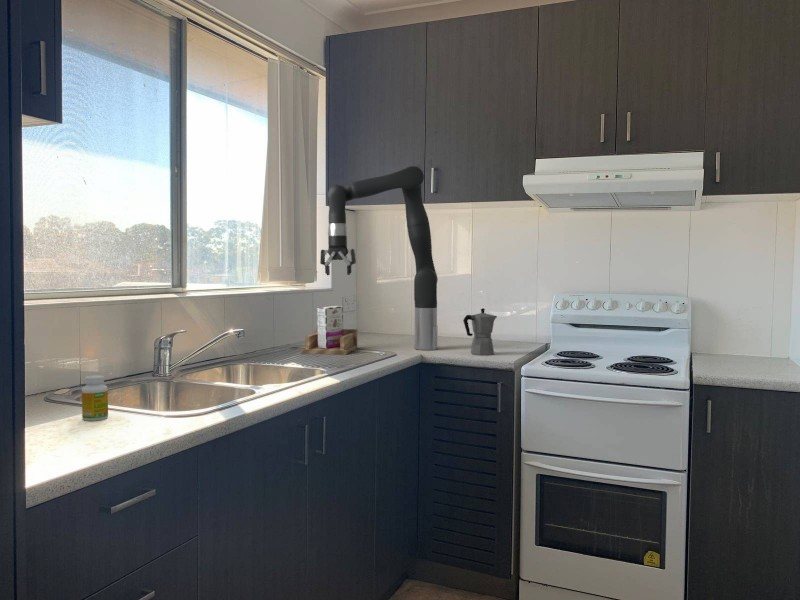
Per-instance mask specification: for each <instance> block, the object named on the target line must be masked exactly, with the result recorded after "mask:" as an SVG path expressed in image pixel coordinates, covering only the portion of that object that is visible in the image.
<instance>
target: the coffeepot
mask: <svg viewBox="0 0 800 600" xmlns="http://www.w3.org/2000/svg"><path fill="white" fill-rule="evenodd" d="M485 310H486V308H483V307H482V308H480V313H475V314H467V315H465V317H464V318H463V320H462V321H463V325H464V328H465V331H466V335H467V336H469V337H472V336H473V338H472V342H471V347H470V348H471V349H470V354H471V355H473V356H492V355H494V354H495V352H494V345H493V338H492V333H493V328H494V324H495V323H494V322H495V320H496V319H497V317H498V316H497V315H494V314H489V313H486V312H485ZM468 321H471V326H472V332H473V333H472V332H470V331H471V330H470V329H471V328H470V327H469V322H468Z"/></svg>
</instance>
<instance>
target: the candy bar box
mask: <svg viewBox="0 0 800 600" xmlns="http://www.w3.org/2000/svg"><path fill="white" fill-rule="evenodd" d="M316 309H317V312H316V313H317V315H316V317H317V321H316V322H317V328H318V348H323V349H328V348H334V347H340V337H342V336H343V329H344V306H342V305H331V306H329V305H328V306H322V307H316Z"/></svg>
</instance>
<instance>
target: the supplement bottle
mask: <svg viewBox="0 0 800 600" xmlns="http://www.w3.org/2000/svg"><path fill="white" fill-rule="evenodd" d="M104 383H105V376H104V375H101V374H96V375H95V374H94V375H92V374H91V375H87V376H85V377H84V384H85V386H83V387H82V388H81V414H82V415H81V417H82V421H86V422H97V421H98V422H99V421H103V420H106V419H107V418H108V417H109V399H108V398H109V397H108V393H109V391H108V390H109V389H108V386H107V385H106V384H104Z"/></svg>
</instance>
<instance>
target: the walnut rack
mask: <svg viewBox="0 0 800 600" xmlns="http://www.w3.org/2000/svg"><path fill="white" fill-rule="evenodd" d="M313 332H314V333H312V334H309V335H306V336H305V348H302V349H301V354H308V355H309V354H311V355H314V354H315V355H345V356H346V355H348V354H350V353H352V352H354V351H355V350H357V349H358V328H355V329H354V328H353V329H351V328H343V336H342V337H340V347H334V348H328V349H323V348H318V327H317V328H316V327H315V328H314V331H313ZM353 350H354V351H353ZM351 351H352V352H351Z"/></svg>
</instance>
